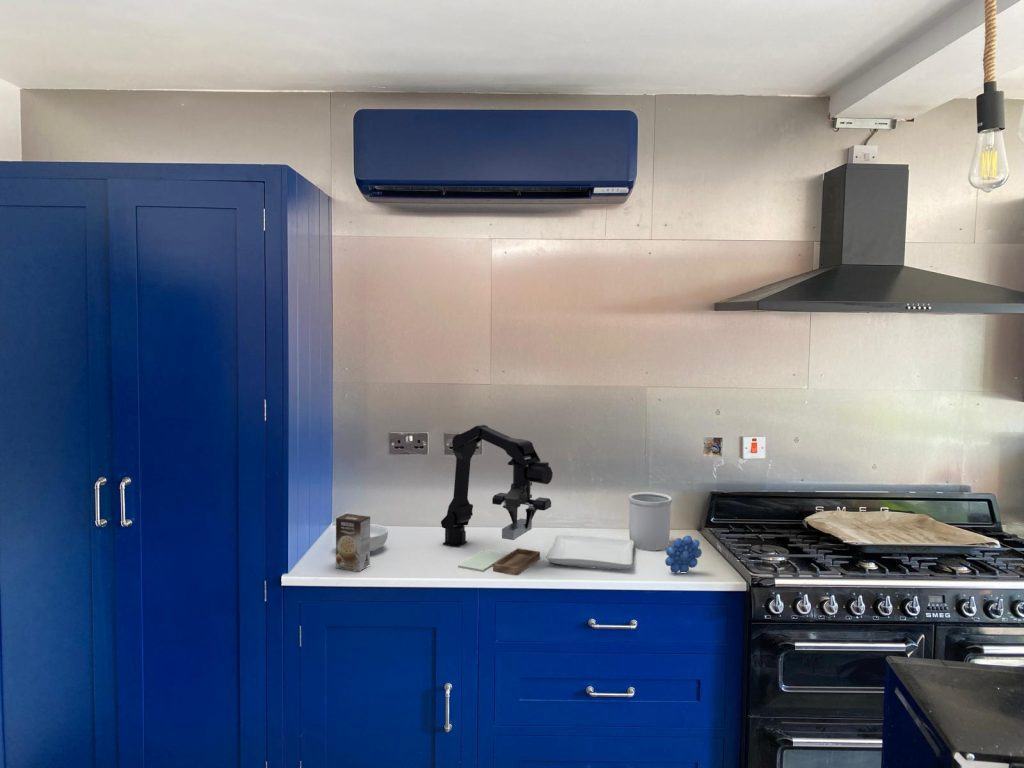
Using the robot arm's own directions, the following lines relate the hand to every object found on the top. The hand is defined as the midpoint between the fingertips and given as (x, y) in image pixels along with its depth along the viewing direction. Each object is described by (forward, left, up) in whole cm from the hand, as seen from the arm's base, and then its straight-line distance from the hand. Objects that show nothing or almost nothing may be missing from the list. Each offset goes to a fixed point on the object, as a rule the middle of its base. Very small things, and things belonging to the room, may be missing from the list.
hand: (521, 527), depth 215 cm
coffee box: (-45, -29, -12) cm, 55 cm away
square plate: (+19, +15, -12) cm, 27 cm away
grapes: (+49, +14, -12) cm, 52 cm away
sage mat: (-11, -5, -11) cm, 16 cm away
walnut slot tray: (0, -3, -11) cm, 12 cm away
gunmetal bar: (0, -3, -1) cm, 3 cm away
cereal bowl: (-53, -14, -12) cm, 56 cm away
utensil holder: (+33, +37, -12) cm, 51 cm away
